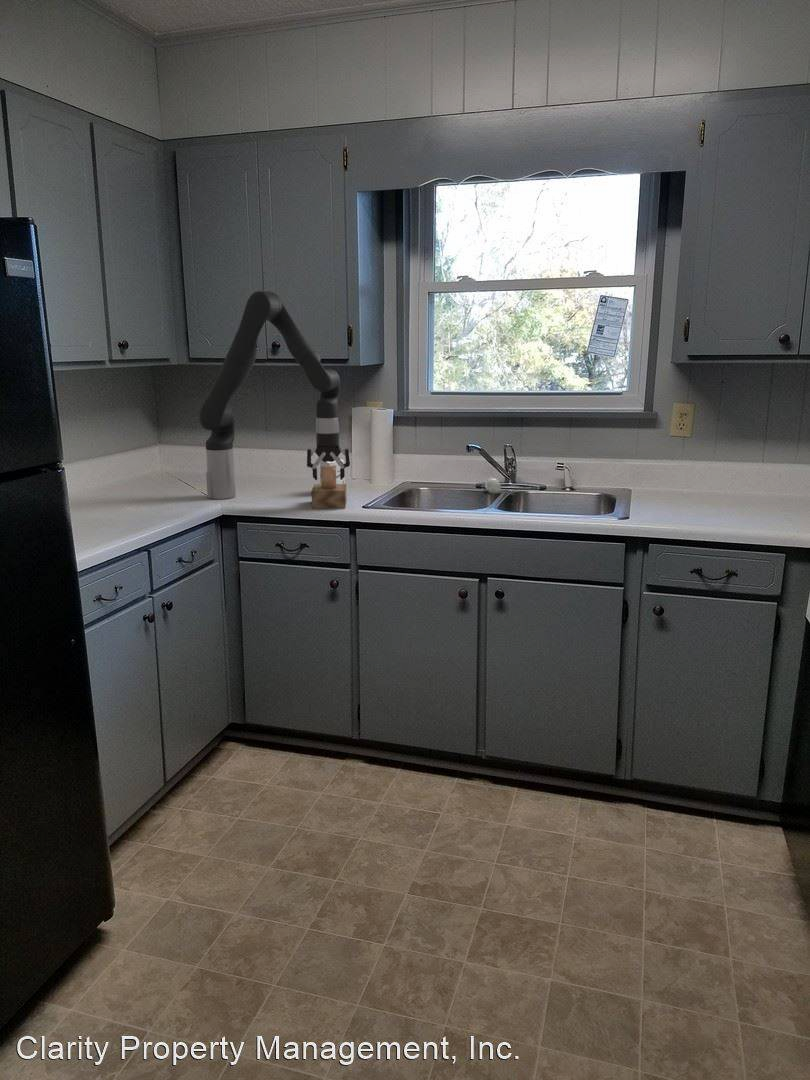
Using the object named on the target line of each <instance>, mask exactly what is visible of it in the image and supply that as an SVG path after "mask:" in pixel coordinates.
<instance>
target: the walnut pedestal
mask: <svg viewBox="0 0 810 1080" xmlns="http://www.w3.org/2000/svg"><path fill="white" fill-rule="evenodd" d="M310 493H311V510H317V509H318V508H319V509H321V508H339V509H346V506H347V505H346V504H347V499H348V498H347V483H345V484H336V488H333V489H324V488H321V484H320V483H318V484H317V483H316V484H315V483H314V484H313V486H312V489H311V492H310Z"/></svg>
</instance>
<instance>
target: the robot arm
mask: <svg viewBox="0 0 810 1080" xmlns="http://www.w3.org/2000/svg"><path fill="white" fill-rule="evenodd" d="M266 322H269V323H271V324H272V325H273V326H274V327H275V328H276V329H277V330H278V332H279V333H280V335H281V336H282V338H283V340H284V343H285V345H286V347H287V349H288V351H289V353H290V355H291V356H292V357H293V359H294V360H295V361H296V363H297V364H298V365H299V366H300V367H301V368H302V369H303V371H304V374H305V376H306V377H307V379H308V381H309V383H310V385H312V387H313V388H314V389H315V390H316V391H318V392H320V393H319V395H320V397H319V399H318V400H317V401H316V405H315V408H316V409H315V410H316V411H315V412H316V413H315V414H316V422H315V433H316V435H315V436H316V440H315V441H316V448H314V449H313V448H310V447H309V448H308V449H307V452H306V468H307V467H308V468H311V469H312V478H313V479H314V480H315V481H318V466H319V465H320V462H321V461H323V462H327V461H329V462H333V461H336V463H337V464H338V465H339V466H340V467H341V468H340V480H343V478H344V476H346V474H345V472H346V471H345V470H346V468H349V467H350V466H351V463H350V462H351V461H350V450H349V448H348V447H346V448H340V422H339V414H338V413H339V411H338V409H339V407H338V402H339V398H340V397H339V396H340V392H341V379H340V375H339V374H338V372H337V371H336V370H334V369H326V368H325V367H324V366H323V364H322V363H321V360H322V359H321V356H320V354H319V353H318V351H316V349H315V347H313V346H312V344H311V343H310V341H308V340H307V338H306V336H305V335H304V334H303V333H302V332H301V330H300V328H299V327H298V326H297V325H296V323H295V321H294V319H293V318H292V316H291V315H290V313H289V311H288V310H287V308H286V306H285V303H283V300H282V299H281V298H280V296H279V295H278V294H276V293H275V292H273V291H264V290H258V291H255V292H253V293H252V294H251V295H250V296H249V297H248V300H247V302H246V304H245V308H244V310H243V314H242V317H241V319H240V323H239V326H238V329H237V331H236V333H235V335H234V338H233V340H232V342H231V345H230V346H229V349H228V351H227V354H226V356H225V358H224V360H223V362H222V366H221V367H220V370H219V372H218V375H217V377H216V379H215V382H214V385H213V386H212V388H211V390H210V392H209V394H208V396H207V397H206V399H205V401H204V402H203V403H202V406H201V407H200V411H199V416H198V417H199V418H198V419H199V423H200V425H201V426H202V428H203V429H204V430H206V431H211V433H210V436H209V437H208V438H207V439H206V441H205V454H206V469H207V470H206V472H205V476H206V478H205V480H206V489H207V490H206V493H207V499H213V500H214V499H215V500H225V499H226V500H227V499H232V498H235V497H236V482H235V479H236V478H235V466H234V465H235V463H234V449H233V445H234V441H235V415H234V411H233V409H232V407H231V405H230V404H228V403H229V402H230V400H231V398H232V397H233V395H235V393H236V392H237V391H238V390H239V389H240V388H241V387H242V385H243V384H244V383H245V381H246V380H247V379H248V378H249V375H250V373H251V371H252V369H253V367H254V364H255V362H256V360H257V351H258V350H257V348H258V347H257V346H258V345H257V344H258V338H259V336H260V333H261V331H262V328H263V327H264V325H265V323H266ZM314 453H315V454H316V455H317V457H318V458H317V459H316V461H314V463H312V456H314ZM341 453H342V455H343V456H344V457H345V464H343V463H342V461H341V460H342V459H341V458H340V457H339V456H340V454H341ZM340 459H341V460H340ZM344 469H345V470H344Z"/></svg>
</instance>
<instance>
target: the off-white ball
mask: <svg viewBox="0 0 810 1080" xmlns="http://www.w3.org/2000/svg"><path fill="white" fill-rule="evenodd" d="M501 485H502V484H501V483H500V481H499V480H498V479H497V478H495V477H488V478H487V479H486V480H485V482H484V486H485V489H486V490H487V491H488V493H490V494H495V495H496V494H497V493H499V492H500V491H501V489H502V486H501Z"/></svg>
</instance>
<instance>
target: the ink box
mask: <svg viewBox="0 0 810 1080" xmlns="http://www.w3.org/2000/svg"><path fill="white" fill-rule="evenodd" d="M340 460H341V461H342V463H343V464H345V463H346V459H345V460H344V459H341V458H340ZM321 466H336V484H346V482H345V476H346V475H345V476H344V478H343V480H340V468H341V467H340V466H339V465H338V464H337V463H336V461H333V462H329V461H327V462H323V461H321V462H320V463H319V476H320V477H319V484H321ZM344 470H346V468H345V469H344Z"/></svg>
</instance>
